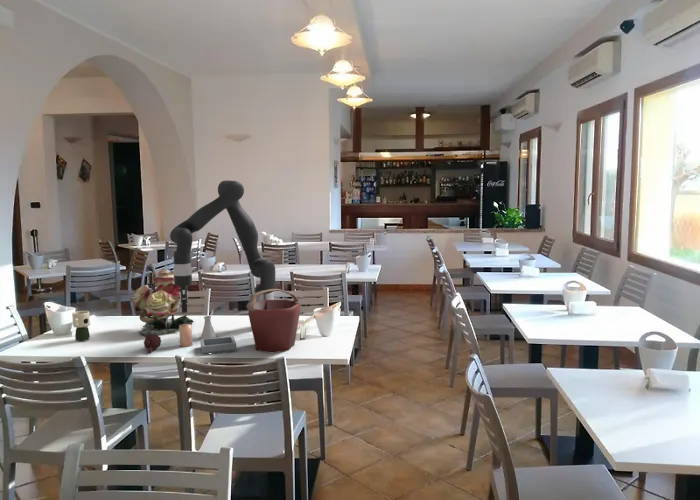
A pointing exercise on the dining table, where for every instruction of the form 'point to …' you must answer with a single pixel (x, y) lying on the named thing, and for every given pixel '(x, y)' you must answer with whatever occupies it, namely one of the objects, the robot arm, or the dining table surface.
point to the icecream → (152, 342)
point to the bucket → (273, 322)
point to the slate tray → (218, 345)
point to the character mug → (81, 325)
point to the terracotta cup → (185, 335)
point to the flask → (208, 329)
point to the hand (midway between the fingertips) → (184, 310)
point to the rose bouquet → (159, 305)
